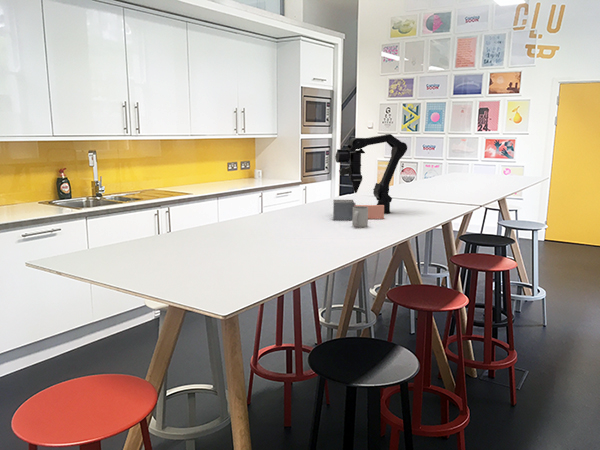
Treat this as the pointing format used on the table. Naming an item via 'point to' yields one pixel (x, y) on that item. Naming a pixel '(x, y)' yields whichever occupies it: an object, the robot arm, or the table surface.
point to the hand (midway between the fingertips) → (354, 191)
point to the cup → (360, 216)
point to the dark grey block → (343, 209)
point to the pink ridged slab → (374, 211)
